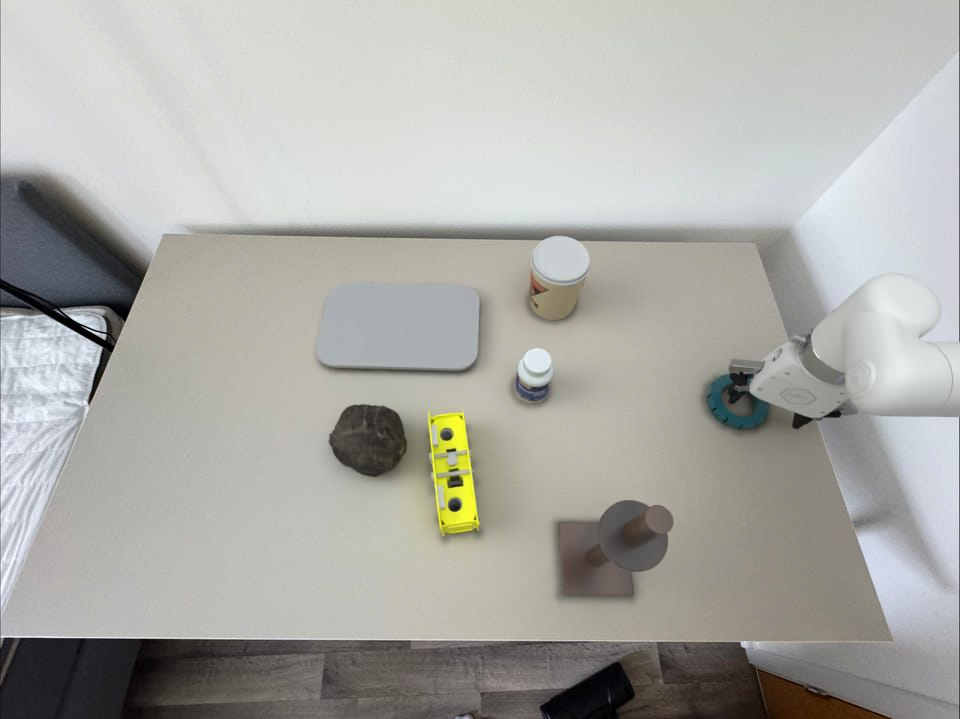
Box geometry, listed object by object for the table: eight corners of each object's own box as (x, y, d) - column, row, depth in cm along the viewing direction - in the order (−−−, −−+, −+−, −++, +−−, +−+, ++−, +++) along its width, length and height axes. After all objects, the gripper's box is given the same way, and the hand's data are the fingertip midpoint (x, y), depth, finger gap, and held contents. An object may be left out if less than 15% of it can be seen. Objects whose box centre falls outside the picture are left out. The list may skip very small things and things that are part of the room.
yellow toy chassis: (429, 429, 76) (423, 407, 69) (465, 424, 77) (464, 402, 69) (440, 538, 69) (435, 527, 61) (480, 531, 69) (481, 520, 62)
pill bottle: (511, 400, 79) (515, 372, 70) (518, 370, 81) (522, 340, 72) (545, 407, 78) (553, 380, 69) (551, 377, 80) (559, 347, 72)
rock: (334, 412, 76) (325, 391, 67) (408, 414, 78) (409, 394, 69) (327, 479, 73) (316, 467, 64) (405, 480, 74) (406, 468, 65)
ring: (768, 390, 79) (773, 386, 78) (758, 438, 76) (764, 435, 74) (713, 370, 81) (717, 365, 80) (700, 416, 77) (705, 412, 76)
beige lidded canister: (522, 281, 89) (528, 235, 79) (574, 279, 90) (587, 232, 79) (527, 325, 85) (534, 283, 74) (582, 323, 85) (596, 280, 75)
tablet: (477, 375, 81) (477, 368, 79) (316, 371, 81) (312, 364, 79) (480, 293, 88) (480, 285, 86) (333, 289, 89) (330, 281, 87)
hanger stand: (622, 524, 70) (701, 468, 45) (631, 595, 65) (723, 576, 41) (558, 523, 70) (601, 467, 45) (562, 594, 65) (613, 575, 41)
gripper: (756, 352, 61) (701, 406, 76) (908, 407, 58) (819, 452, 73) (766, 306, 64) (711, 367, 80) (911, 355, 61) (825, 409, 76)
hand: (763, 408), depth 76 cm, fingers open, 9 cm apart
